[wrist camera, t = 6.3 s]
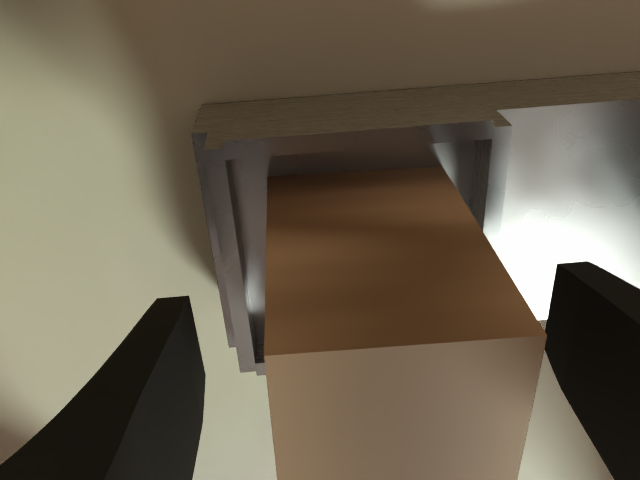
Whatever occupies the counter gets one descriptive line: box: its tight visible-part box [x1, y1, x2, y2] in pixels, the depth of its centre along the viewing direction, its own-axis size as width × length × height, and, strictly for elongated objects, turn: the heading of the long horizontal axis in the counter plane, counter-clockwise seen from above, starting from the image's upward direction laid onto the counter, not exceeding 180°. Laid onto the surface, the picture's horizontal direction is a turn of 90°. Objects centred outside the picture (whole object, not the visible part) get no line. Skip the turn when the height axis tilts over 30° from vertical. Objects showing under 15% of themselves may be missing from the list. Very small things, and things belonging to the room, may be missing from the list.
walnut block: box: [264, 166, 547, 480], centre depth 12 cm, size 4×4×6 cm
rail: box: [192, 72, 640, 376], centre depth 15 cm, size 17×6×3 cm, turn 93°
